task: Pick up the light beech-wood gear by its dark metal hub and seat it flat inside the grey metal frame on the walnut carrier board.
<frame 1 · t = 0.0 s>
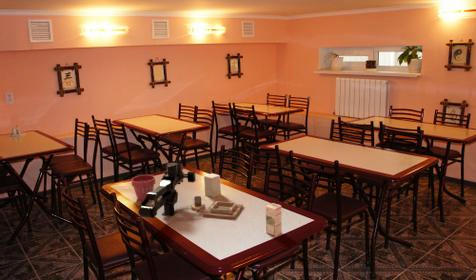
hand: (185, 172, 261), 17 cm above the table, tool horizontal, fingers open, 9 cm apart
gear: (198, 208, 247), on the table
plant pot: (144, 198, 267), on the table
carrier board: (223, 211, 241), on the table
syrup box: (273, 233, 213), on the table
supplement box: (212, 195, 269), on the table
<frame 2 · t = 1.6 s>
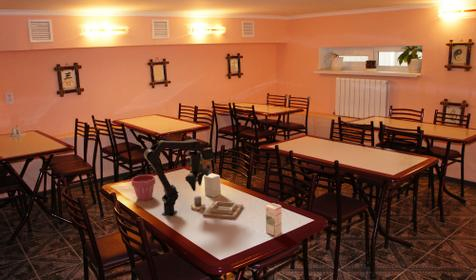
hand: (197, 188, 245), 12 cm above the table, tool pointing down, fingers open, 9 cm apart
nothing on the table moved.
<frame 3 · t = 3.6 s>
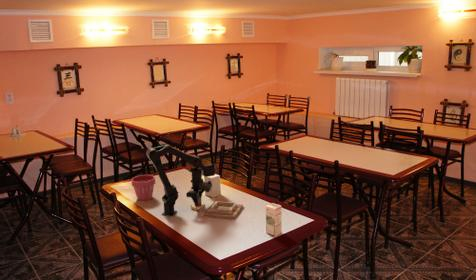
hand: (197, 203, 247), 3 cm above the table, tool pointing down, fingers closed on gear, 4 cm apart
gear: (198, 208, 247), on the table, touching gripper
everything else where it was.
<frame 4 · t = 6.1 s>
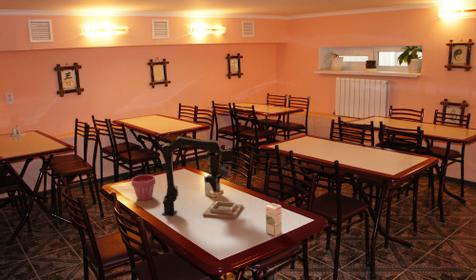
hand: (216, 189, 240), 12 cm above the table, tool pointing down, fingers closed on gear, 4 cm apart
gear: (216, 193, 241), point 10 cm above the table, touching gripper
everything else where it was.
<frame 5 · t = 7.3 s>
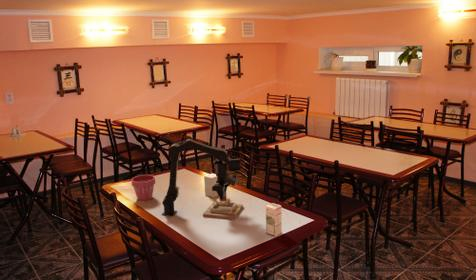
hand: (222, 198, 239), 8 cm above the table, tool pointing down, fingers closed on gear, 4 cm apart
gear: (223, 202, 240), point 6 cm above the table, touching gripper
everything else where it was.
when the fingers open (5 cm above the table, at t = 8.5 s): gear stays where it is, resting on carrier board.
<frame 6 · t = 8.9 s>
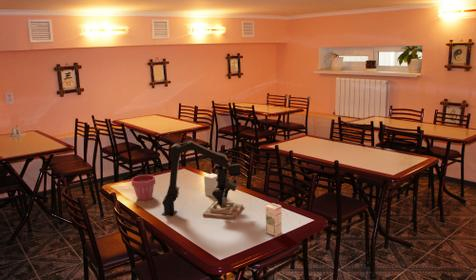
hand: (223, 203, 240), 5 cm above the table, tool pointing down, fingers open, 8 cm apart
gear: (223, 209, 241), point 1 cm above the table, touching carrier board
everything else where it was.
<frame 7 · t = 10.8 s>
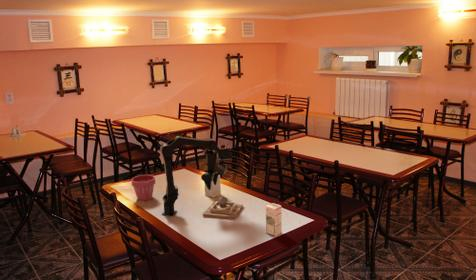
hand: (212, 187, 245), 12 cm above the table, tool pointing down, fingers open, 9 cm apart
nothing on the table moved.
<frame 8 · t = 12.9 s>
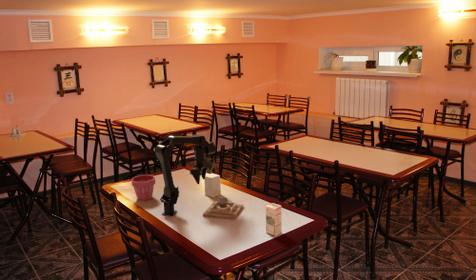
hand: (201, 181, 253), 13 cm above the table, tool pointing down, fingers open, 9 cm apart
nothing on the table moved.
at the end: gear 0.0 cm off-centre on the carrier board, point 1.5 cm above the carrier board's base; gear tilted 0°; the gripper is holding nothing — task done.
